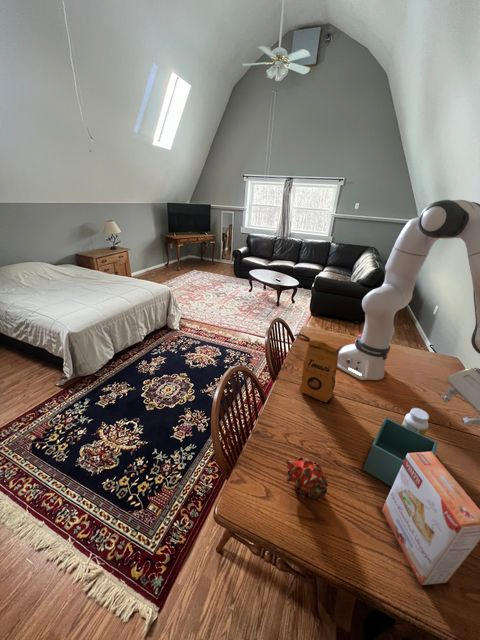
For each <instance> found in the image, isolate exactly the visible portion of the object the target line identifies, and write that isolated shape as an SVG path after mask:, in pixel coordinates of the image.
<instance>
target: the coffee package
mask: <svg viewBox="0 0 480 640" xmlns="http://www.w3.org/2000/svg"><path fill="white" fill-rule="evenodd" d="M308 341H309V342H308V346H307V350H306V352H305V353H306V354H305V357H304V360H303V367H302V374H301V381H300V385H299V388H298V391H299V392H300V393H303V394H305V395H307V396H309V397H311V398H314V399H316V400H318V401H320V402H324V403H328V401H330V399H331V398H332V397H333V394H334V390H335V387H336V373H337V369H338V368H337V365H338V362H337V361H338V355H339V347H336V346H334V345H332V344H329V343H327V342H324V341H319V340H315V339H312V338H310V340H308Z"/></svg>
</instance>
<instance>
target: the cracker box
mask: <svg viewBox="0 0 480 640" xmlns="http://www.w3.org/2000/svg"><path fill="white" fill-rule="evenodd" d="M381 512H382V513H383V515H384V518H385V519H386V521H387V523H388V525H389V527H390V529H391V532H392V533H393V534H394V536H395V539H396V540H397V542H398V544H399V547H400V548H401V550H402V553H403V554H404V557H405V558H406V560H407V562H408V563H409V566H410V567H411V569H412V571H413V573H414V575H415V577H416V579H417V581H418V583H419V585H420V586H427V585H428V586H429V585H437V584H438V585H439V584H447V583H448V581H450V579H451V578H452V576H453V575H454V574H455V573H456V572H457V571H458V569H459V568H460V566H462V564H463V563H464V561H465V560H466V559H467V558H468V556H469V555H470V554H471V552H472V551H473V550H474V548H475V547H476V546H477V545H478V543H479V542H480V508H479V507H478V506H477V505H476V503H475V502H474V501H473V500H472V499H471V497H470V496H469V495H468V494H467V493H466V491H465V490H464V489H463V488H462V486H461V485H460V484H459V483H458V481H457V480H455V478H454V477H453V476H452V475H451V474H450V472H449V471H448V470H447V468H446V467H445V466H444V465H443V464H442V462H440V460H439V459H438V458H437V456H436V454H435V455H434V454H433V453H432V452H417V453H407V455H406V457H405V460H404V462H403V464H402V466H401V469H400V471H399V473H398V475H397V477H396V480H395V482H394V484H393V486H392V487H391V489H390V491H389V492H388V495H387V497H386V500H385V502H384V504H383V507H382V509H381Z"/></svg>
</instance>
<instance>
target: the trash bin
mask: <svg viewBox="0 0 480 640" xmlns="http://www.w3.org/2000/svg"><path fill="white" fill-rule="evenodd" d="M438 443H439V442H438V441H436V440H434V439H432V438H429V437H428V436H426V435H424V436H423V435H421V434H419V433H417V432H415V431H413V430H411V429H409V428H407V427H405V426H403V425H402V424H401V423H398V422H396V421H394V420H392V419H390V418H388V417H384V419H383V421H382V424H381V426H380V428H379V429H378V432H377V434H376V436H375V438H374V439H373V443H372V444H371V447H370V450H369V452H368V456H367V458H366V461H365V463H364V467H363V468H362V469H363V471H365V472H367V473H368V474H369V475H372V476H373V477H375V479H377V480H379V481H381V482H383V483H385V484H386V485H388V486H389V487H391V488H392V486H393V484H394V482H395V480H396V477H397V475H398V473H399V471H400V469H401V466H402V464H403V462H404V460H405V457H406V455H407V453H417V452H432V453H433V454H434V455H435V456H436V452H437V448H438Z"/></svg>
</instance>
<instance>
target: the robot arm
mask: <svg viewBox="0 0 480 640" xmlns="http://www.w3.org/2000/svg"><path fill="white" fill-rule="evenodd" d="M440 239H443V240H452V239H461V240H462V241H463V242H464V245H465V247H466V252H467V260H468V265H469V270H470V277H471V281H472V282H471V283H472V288H473V289H472V291H473V305H474V306H473V307H474V316H475V326H474V329H473V332H472V335H471V339H470V340H471V341H470V343H471V346H472V349H473V350H474V351H475V352H476V353H477V354H479V355H480V203H478V202H476V201H475V202H474V201H470V200H465V199H441V200H437V201H434V202H431V203H430V204H429V205H427V206H425V208H424V209H423V210H422V211H421V212H420V214H419V217H413V218H411V219H410V220H408V221H407V222H406V224H405V225H404V226H403V228H402V229H401V231H400V233H399V235H398V237H397V238H396V240H395V243H394V244H393V247H392V249H391V252H390V254H389V256H388V258H387V261H386V264H385V266H384V270H385V275H384V281H383V283H382V285H381V286H379V287H377V288H374V289H372V290H370V291H369V292H368V293H366V295H364V296H363V298H362V300H361V307H362V310H363V312H364V313H365V314H364V325H363V329H362V333H360V334H358V335H357V336H356V338H355V340H354V343H351V344H347V345H344V346H339V347H338V348H339V355H338V361H337V362H338V365H337V369H339V370H341V371H343V372H345V373H346V374H348V375H350V376H351V377H353V378H356V379H357V380H360V381H366V380H369V381H370V380H371V381H379V380H382V379H383V378H385V376H386V375H385V367H386V361H387V359H388V357H389V354H390V350H391V343H392V340H393V337H394V334H395V330H396V329H395V326H394V321H395V316H396V314H397V312H398V311H401V310H402V309H404V308H405V307H407V306H408V305H409V303H410V302H412V299H413V292H414V289H415V285H416V282H417V279H418V275H419V274H420V271H421V270H422V268H423V266H424V264H425V262H426V261H427V258H428V256H429V254H430V251H431V249H432V247H433V246H434V244H435V243H436V242H437V241H438V240H440ZM298 334H299V335H298ZM293 336H294V337H297V336H298V337H303V338H305V339H306V340H307V341H310V339H311V338H310V337H309V336H307V335H305V334H302V333H296V334H294V335H293ZM446 381H447V383H448V384H449V385H450V387H448V389H447V390H446V392H445V393H444V394H442V395H440V398H441V400H442V401H443V402H445V403H449V402H451V401H452V399H451V398H452V397H453V396H456V395H460V396H461V397H462V398H463V399H464V401H466V402H467V404H469V405H470V406H471V407H472V408H473V409H474V411H476V412H477V413H478V415H476V417H469V416H465V417H463V418H461V421H462V422H463V424H464V425H465V426H466V427H470V426H472V425H480V367H468V368H465V369H462V370H459V371H457V372H454V373H453V374H451V375H448V377H447V378H446Z"/></svg>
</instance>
